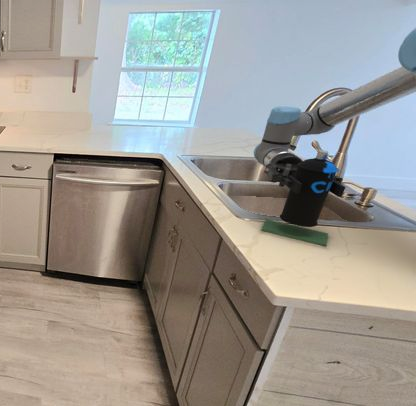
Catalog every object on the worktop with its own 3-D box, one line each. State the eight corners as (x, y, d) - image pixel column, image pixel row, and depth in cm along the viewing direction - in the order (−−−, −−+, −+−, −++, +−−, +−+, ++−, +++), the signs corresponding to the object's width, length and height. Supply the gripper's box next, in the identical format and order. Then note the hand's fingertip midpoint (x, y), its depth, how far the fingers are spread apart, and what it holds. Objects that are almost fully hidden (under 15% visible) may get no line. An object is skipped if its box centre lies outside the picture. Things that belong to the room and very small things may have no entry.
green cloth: (327, 235, 101) (328, 233, 101) (325, 246, 96) (326, 244, 96) (265, 220, 110) (266, 218, 110) (261, 230, 105) (261, 228, 105)
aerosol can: (272, 217, 104) (295, 149, 96) (291, 212, 107) (314, 145, 99) (305, 229, 97) (332, 157, 89) (324, 223, 100) (352, 153, 91)
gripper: (320, 178, 111) (366, 208, 92) (240, 172, 118) (267, 199, 98) (329, 154, 108) (378, 180, 89) (247, 150, 115) (275, 173, 95)
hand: (320, 190), depth 93 cm, fingers closed on aerosol can, 8 cm apart
